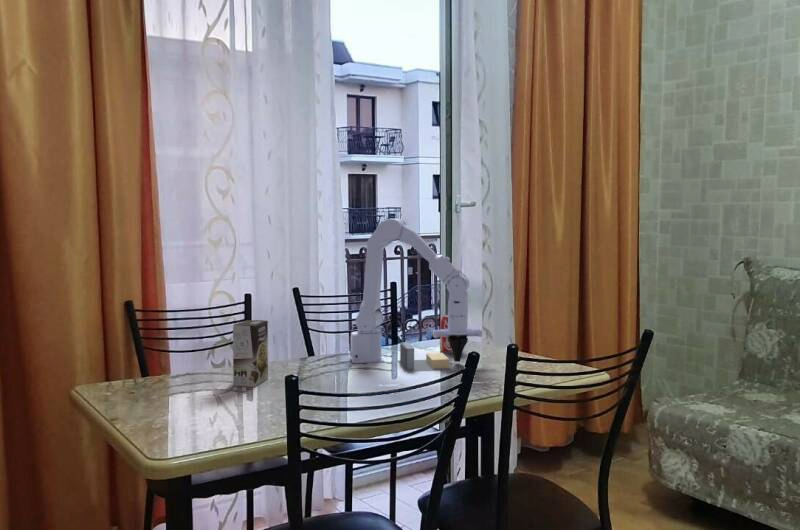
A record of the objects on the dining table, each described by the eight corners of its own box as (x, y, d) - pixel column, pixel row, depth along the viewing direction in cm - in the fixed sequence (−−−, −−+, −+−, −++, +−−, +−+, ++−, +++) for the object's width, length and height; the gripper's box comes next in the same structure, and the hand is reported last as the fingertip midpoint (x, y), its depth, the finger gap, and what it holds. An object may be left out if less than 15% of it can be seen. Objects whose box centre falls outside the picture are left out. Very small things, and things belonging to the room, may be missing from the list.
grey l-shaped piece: (404, 372, 195) (404, 350, 195) (396, 361, 209) (397, 340, 209) (452, 371, 198) (453, 349, 197) (442, 360, 211) (442, 339, 211)
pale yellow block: (432, 368, 199) (432, 360, 199) (426, 361, 208) (426, 353, 208) (449, 368, 200) (449, 359, 200) (442, 361, 209) (442, 352, 209)
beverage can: (438, 353, 221) (438, 316, 220) (443, 350, 227) (443, 313, 226) (457, 355, 219) (458, 317, 218) (461, 351, 225) (462, 314, 224)
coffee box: (255, 387, 179) (255, 325, 177) (232, 386, 180) (231, 324, 179) (269, 378, 188) (268, 319, 186) (247, 377, 189) (246, 319, 188)
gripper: (436, 318, 199) (435, 364, 200) (485, 317, 201) (484, 363, 202) (431, 314, 205) (430, 359, 207) (479, 313, 208) (478, 358, 209)
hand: (457, 360), depth 205 cm, fingers closed
